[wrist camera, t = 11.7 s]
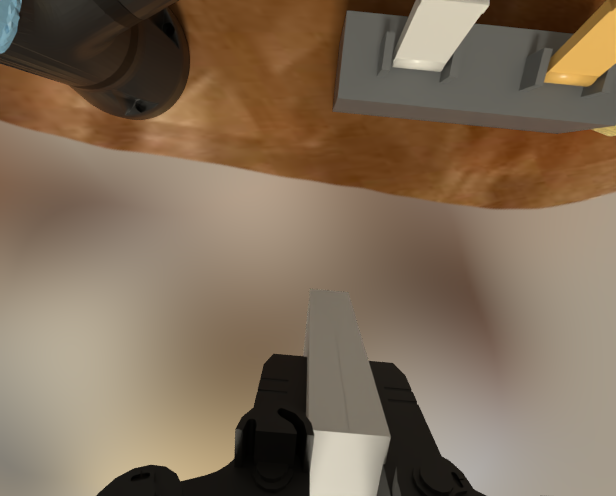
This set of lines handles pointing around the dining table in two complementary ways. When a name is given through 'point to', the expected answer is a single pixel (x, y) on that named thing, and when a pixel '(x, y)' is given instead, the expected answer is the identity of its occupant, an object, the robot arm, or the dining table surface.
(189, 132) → the dining table surface
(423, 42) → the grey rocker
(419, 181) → the dining table surface
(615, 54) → the block
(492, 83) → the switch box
